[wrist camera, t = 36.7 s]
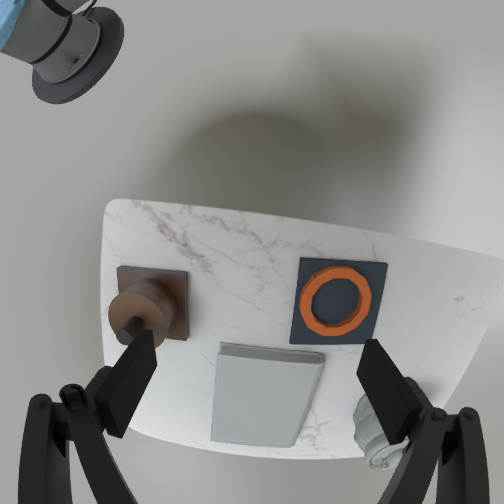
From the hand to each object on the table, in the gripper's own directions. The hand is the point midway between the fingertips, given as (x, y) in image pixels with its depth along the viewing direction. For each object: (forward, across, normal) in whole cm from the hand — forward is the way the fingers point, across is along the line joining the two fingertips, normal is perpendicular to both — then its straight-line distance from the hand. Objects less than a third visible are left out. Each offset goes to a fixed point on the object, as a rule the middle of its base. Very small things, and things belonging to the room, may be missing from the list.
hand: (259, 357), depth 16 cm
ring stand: (+28, -17, -10) cm, 34 cm away
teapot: (+27, +31, -32) cm, 52 cm away
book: (+27, +3, -29) cm, 40 cm away
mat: (+27, +14, -8) cm, 32 cm away
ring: (+27, +13, -7) cm, 31 cm away
